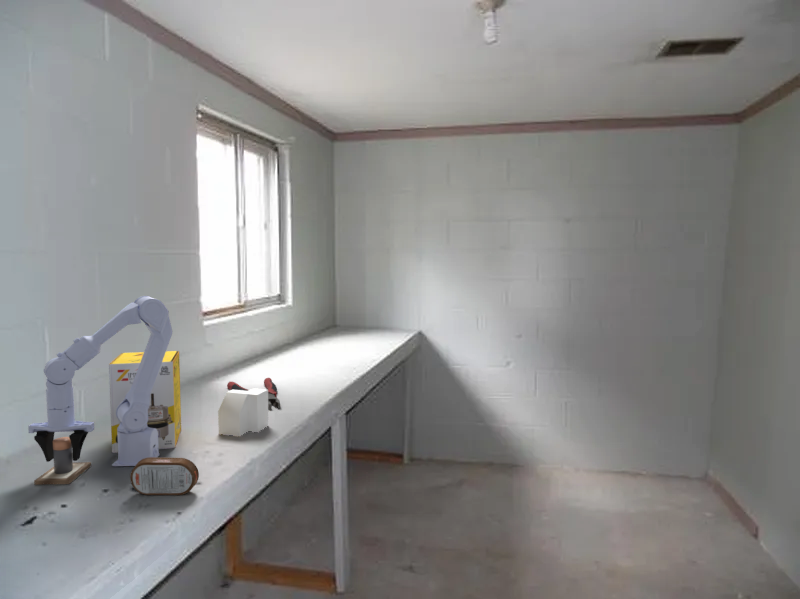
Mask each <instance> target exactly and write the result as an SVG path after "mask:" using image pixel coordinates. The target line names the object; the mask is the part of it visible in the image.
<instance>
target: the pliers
mask: <svg viewBox="0 0 800 599" xmlns="http://www.w3.org/2000/svg"><path fill="white" fill-rule="evenodd" d="M263 385H264V386H265V388H266V389H267V390H268V411H272V410H273V409H272V406H273V407H274V408H276V409H277V408H278V409H277V410H280V409H281V402H280V399H279V398H278V395H277V394H278V387H277V385H276V384H275V383H274V382H273V380H272V378H270V377H266V378H264V380H263ZM226 387H227V389H228V390H229V391H230V390H244V391H248V390H249V389H247V388H245V387H243V386H241V385H240V384H238V383H236V382H235V381H228V382H227V385H226Z"/></svg>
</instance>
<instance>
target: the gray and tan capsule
mask: <svg viewBox="0 0 800 599" xmlns="http://www.w3.org/2000/svg"><path fill="white" fill-rule="evenodd" d="M53 457H54V458H53V467H54V473H55V474H65V473H68V472H71V471H72V470H73V462H74V461H73V457H72V444H71V440H70V438H69V436H62V437H61V436H60V437H56V438H54V440H53Z"/></svg>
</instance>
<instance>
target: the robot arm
mask: <svg viewBox="0 0 800 599" xmlns="http://www.w3.org/2000/svg"><path fill="white" fill-rule="evenodd" d="M169 313H170V312H169V309H168V308H167V307H166V305H165V304H164V303H163V302H162V301H161V300H160V299H158V298H154V297H152V296H149V295H141V296H139V297H138V298H136V299H135V300H134V302H133V301H132V302H130V303H128V304H127V305H125V307H124V308H122V309H121V310H120V311H118V312H117V313H116V314H115V315H114V316H112V317H111V318H110V319H109V320H108V321H107V322H106V323H105V324H103V325H102V326H101V327H100V328H98V330H97V331H95V332H94V333H93V334H92V335H82V336H80V337H75V338H74V339H73V340H72V342H73V343H72V344H71V345H69V346H68V347H67V348H66V349H64V350H63V351H62V352H61V351H58V352H57V353H56V354H55V355H56V357H53V358H51V359H49V360H48V361H47V362H46V363H45V366H44V368H43V374H44V375H45V376H46V383H45V385H46V390H45V397H46V398H45V399H46V413H47V414H46V415H47V422H45V421H44V422H32V423H31V424H29V425H28V428H27V429H28V434H34V433H36V435H34V436H33V439H34V441H35V442H36V443H37V444H38V447H39V448H40V449H41V450H42V453H43V455H44V458H45V461H46V462H48V463H49V462H51V461H52V460H54V457H53V440H54V439H55V433H56V432H57V433H59V432H60V433H62V432H64V433H65V432H67V433H68V432H70V433H71V432H72V433H71V434H70V435H69V436H68V437H69V438H70V440H71V444H72V459H73V462H77V461H78V460H79V459H81V453H82V448H83V445H84V442H85V440H86V438H87V436H88V434H89V433H92V432H93V431H95V422H94V421H83V420H76V417H75V416H76V415H75V414H76V413H75V399H74V398H75V396H74V395H75V393H74V386H73V378H74V376H75V372H77V371H79V370H80V369H81V368H83V367H84V366H86V365H87V364H88V363H89V362H90V361H91V360H93V359H94V358H95V357H96V356H97V355H98V354H100V353H101V348H102V347H101V346H102V345H103V344H105V342H107V341H109V340H110V339H111V338H113V337H114V336H116V335H117V334H118V333H119V332H120V331H122V330H123V329H125V328H126V327H128V326H130V325H131V326H132V325H138V324H142V323H144V324H145V327H146V328H147V330H148V331H149V333H150V336H149V339H148V341H147V343H146V346H145V349H144V351H143V352H144V354H143V357H142V359H141V362H140V365H139V368H138V370H137V373H136V376H135V378H134V381H133V384H132V387H131V389H130V391H129V392H128V393H127V394H126V396H125V399H124V400H123V402H122V403H121V404H120V405H119V406H118V407H117V410H116V416H117V418H118V419H119V420H120V421H121V423H120V425H119V426H118V428H117V436H118V453H117V454H118V455H117V456H118V458H117V460H115V461H114V462H113V463H112V465H111V466H112V467H135V466H136V464H137V463H138V462H139V461H140V460H142V459H144V458H148V457H157V458H159V456H160V453H159V452H160V449H159V447H158V431H157V429H156V428H150V427H148V426H147V422H148V408H149V405H150V394H151V391H152V388H153V385H154V383H155V380H156V377H157V374H158V372H159V369H160V366H161V363H162V361H163V358H164V355H165V352H166V351H167V349H168V347H169V345H170V341H171V339H172V336H173V329H172V324H171V320H170V316H169V315H170V314H169Z"/></svg>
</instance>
